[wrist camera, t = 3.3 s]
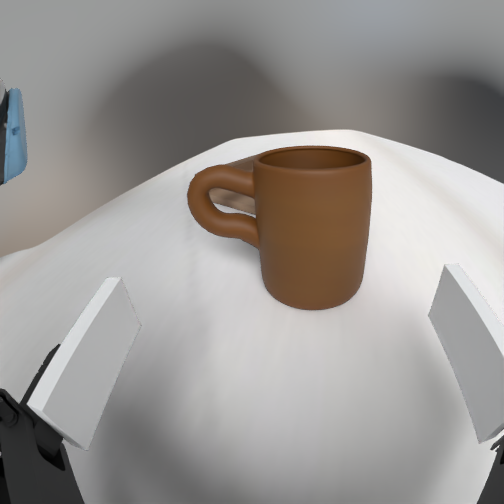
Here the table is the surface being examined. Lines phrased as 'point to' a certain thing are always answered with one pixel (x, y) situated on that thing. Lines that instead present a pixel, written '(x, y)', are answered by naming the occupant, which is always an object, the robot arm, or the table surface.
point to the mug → (297, 219)
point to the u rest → (231, 197)
